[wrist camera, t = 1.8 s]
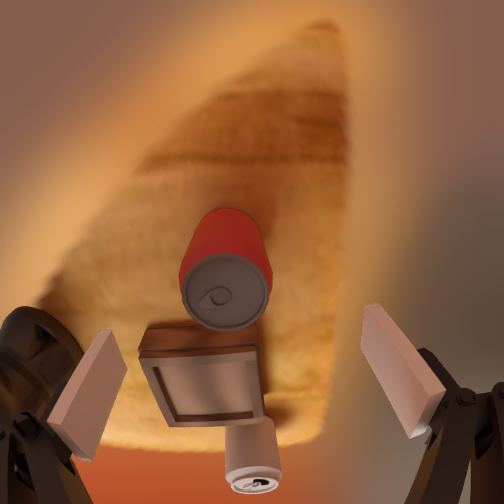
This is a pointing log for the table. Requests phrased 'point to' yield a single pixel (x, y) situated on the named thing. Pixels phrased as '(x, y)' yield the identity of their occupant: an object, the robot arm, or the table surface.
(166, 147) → the table surface
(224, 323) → the beer can
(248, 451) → the can
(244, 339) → the walnut tray
